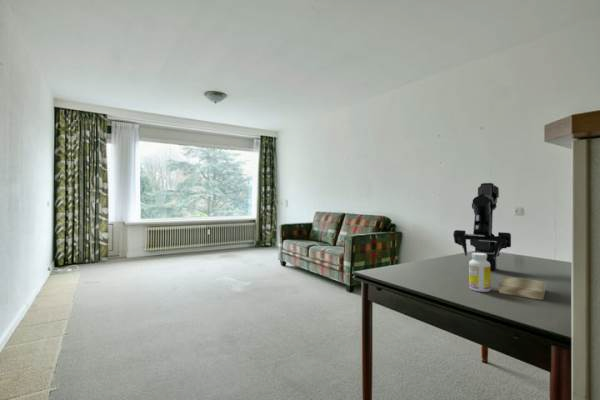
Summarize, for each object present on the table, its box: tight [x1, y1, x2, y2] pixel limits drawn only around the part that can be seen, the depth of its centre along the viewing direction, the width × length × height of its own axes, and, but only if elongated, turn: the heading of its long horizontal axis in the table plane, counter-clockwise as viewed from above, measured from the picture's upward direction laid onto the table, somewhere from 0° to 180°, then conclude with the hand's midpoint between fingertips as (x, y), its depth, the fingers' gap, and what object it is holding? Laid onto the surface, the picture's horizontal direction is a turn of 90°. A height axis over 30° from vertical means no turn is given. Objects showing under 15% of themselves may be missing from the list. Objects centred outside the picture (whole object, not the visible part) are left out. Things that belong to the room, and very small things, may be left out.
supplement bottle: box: [468, 252, 492, 293], centre depth 113 cm, size 7×7×13 cm
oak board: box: [498, 276, 547, 301], centre depth 110 cm, size 12×12×3 cm
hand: (480, 256), depth 115 cm, fingers open, 9 cm apart
